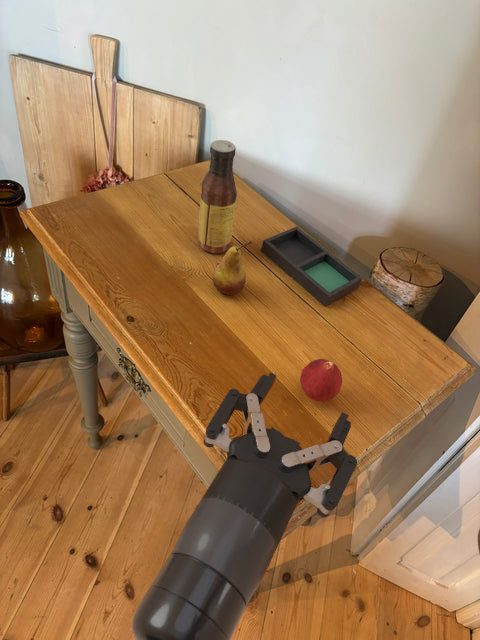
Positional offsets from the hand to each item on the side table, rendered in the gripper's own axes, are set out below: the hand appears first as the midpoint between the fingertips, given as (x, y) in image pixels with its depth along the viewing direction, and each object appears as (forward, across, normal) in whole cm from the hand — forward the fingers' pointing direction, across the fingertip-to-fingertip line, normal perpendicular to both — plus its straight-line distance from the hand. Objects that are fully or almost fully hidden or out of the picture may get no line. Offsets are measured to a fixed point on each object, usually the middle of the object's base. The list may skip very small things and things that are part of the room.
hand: (306, 397), depth 50 cm
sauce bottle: (+32, +29, +14) cm, 46 cm away
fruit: (+24, +21, +14) cm, 35 cm away
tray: (+38, +11, +14) cm, 42 cm away
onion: (+12, 0, +14) cm, 19 cm away
